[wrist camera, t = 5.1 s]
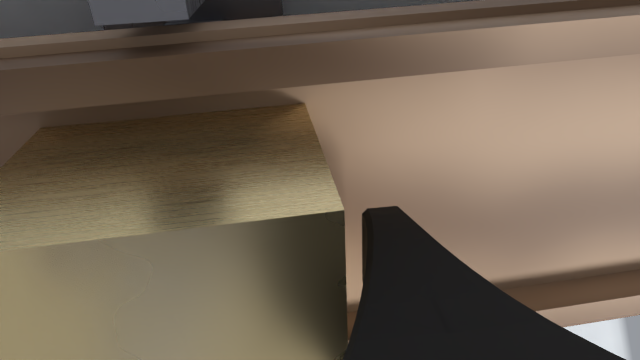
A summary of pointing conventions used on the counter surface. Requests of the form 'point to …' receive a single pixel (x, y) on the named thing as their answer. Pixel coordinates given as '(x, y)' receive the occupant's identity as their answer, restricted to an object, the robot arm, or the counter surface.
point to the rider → (173, 241)
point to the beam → (407, 124)
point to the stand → (177, 11)
